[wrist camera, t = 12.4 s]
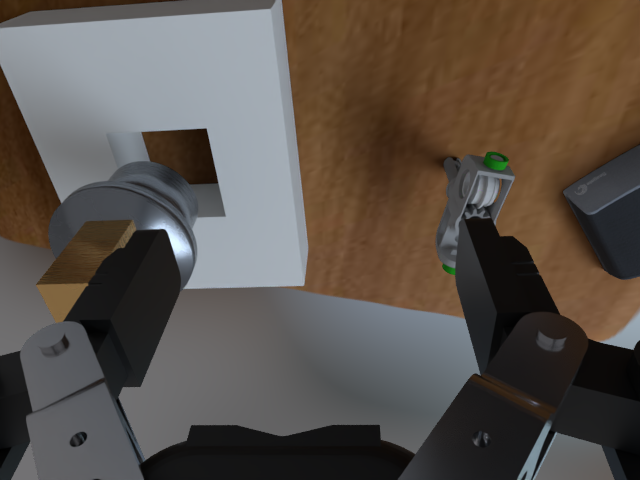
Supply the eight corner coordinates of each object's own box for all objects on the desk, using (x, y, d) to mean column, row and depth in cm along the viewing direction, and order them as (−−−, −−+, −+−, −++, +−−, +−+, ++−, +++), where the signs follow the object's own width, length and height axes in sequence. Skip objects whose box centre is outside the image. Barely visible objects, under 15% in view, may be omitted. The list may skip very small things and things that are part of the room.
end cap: (72, 148, 34) (-41, 254, 25) (199, 142, 34) (137, 248, 24) (113, 253, 40) (35, 374, 30) (224, 249, 39) (182, 373, 29)
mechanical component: (420, 208, 48) (436, 273, 39) (454, 107, 42) (480, 160, 34) (450, 212, 48) (471, 279, 40) (488, 113, 42) (521, 167, 34)
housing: (30, 11, 39) (-16, 29, 34) (280, -7, 37) (270, 8, 32) (123, 253, 53) (100, 290, 48) (308, 247, 51) (304, 285, 46)
